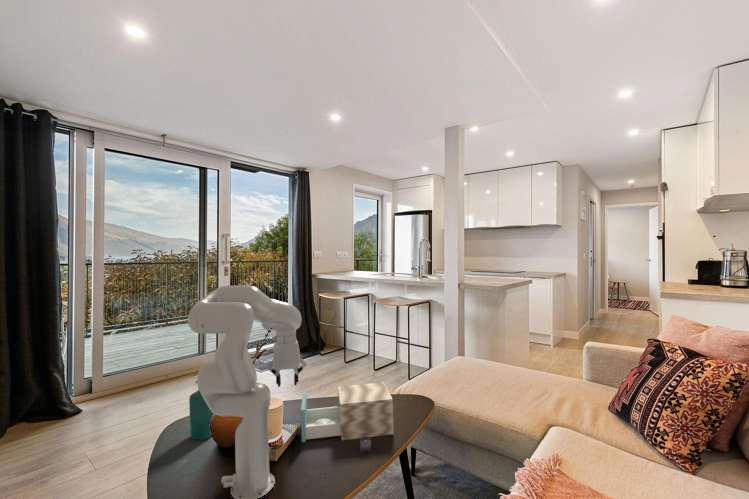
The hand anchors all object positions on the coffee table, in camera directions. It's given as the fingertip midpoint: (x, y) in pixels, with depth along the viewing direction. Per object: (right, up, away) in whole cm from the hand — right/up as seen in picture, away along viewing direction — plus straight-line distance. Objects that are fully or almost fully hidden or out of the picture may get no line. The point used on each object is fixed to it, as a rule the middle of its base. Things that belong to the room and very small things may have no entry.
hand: (287, 384), depth 136 cm
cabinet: (+30, -19, +5) cm, 36 cm away
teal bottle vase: (-33, -21, +3) cm, 39 cm away
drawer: (+16, -18, +2) cm, 24 cm away
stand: (+31, -18, -12) cm, 38 cm away
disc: (+14, -17, +2) cm, 22 cm away
